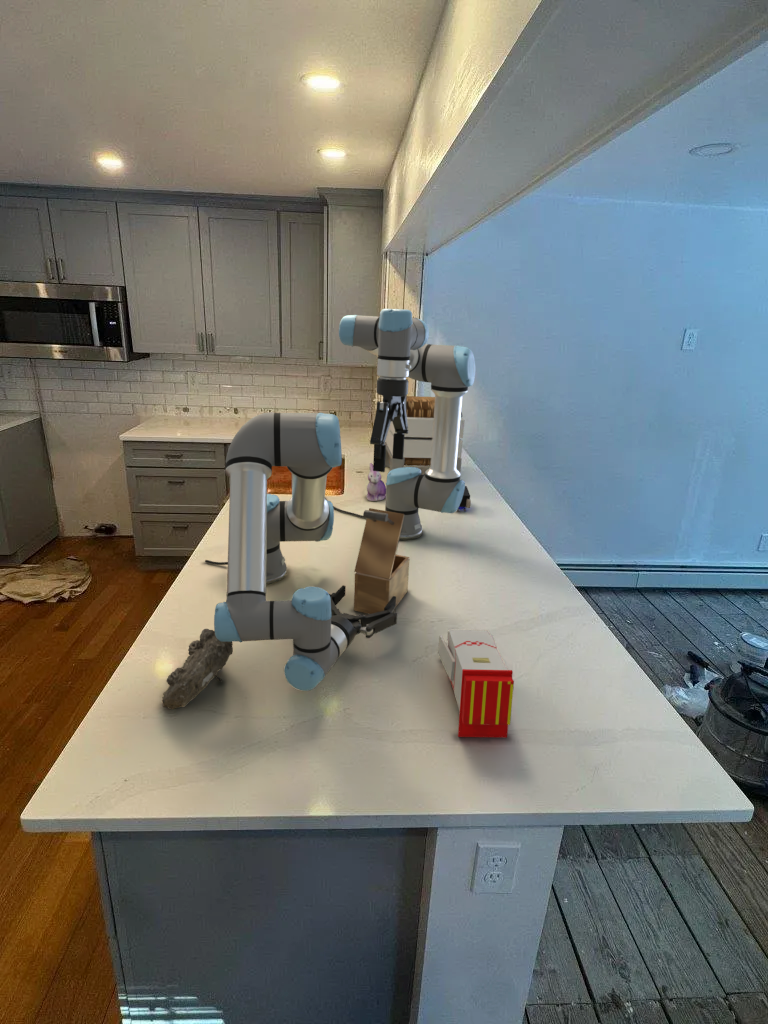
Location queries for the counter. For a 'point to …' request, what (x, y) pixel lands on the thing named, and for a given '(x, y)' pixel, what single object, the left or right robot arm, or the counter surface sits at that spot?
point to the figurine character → (465, 500)
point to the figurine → (375, 486)
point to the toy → (478, 682)
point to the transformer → (418, 435)
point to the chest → (381, 587)
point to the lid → (379, 543)
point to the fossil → (197, 669)
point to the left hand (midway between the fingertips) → (368, 595)
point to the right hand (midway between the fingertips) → (388, 464)
